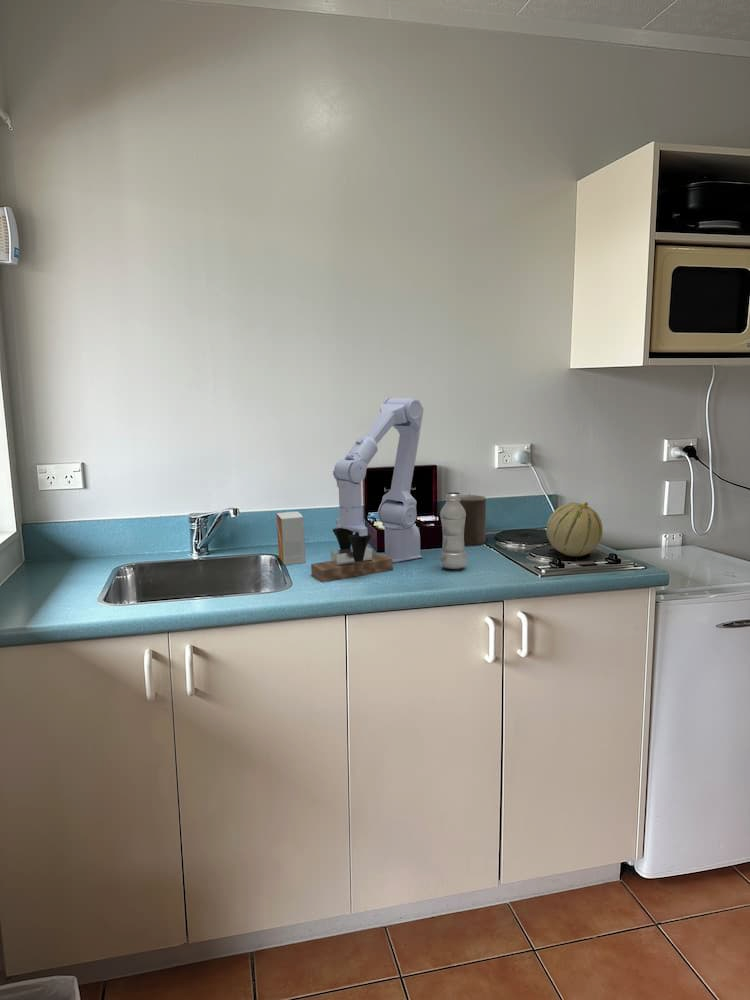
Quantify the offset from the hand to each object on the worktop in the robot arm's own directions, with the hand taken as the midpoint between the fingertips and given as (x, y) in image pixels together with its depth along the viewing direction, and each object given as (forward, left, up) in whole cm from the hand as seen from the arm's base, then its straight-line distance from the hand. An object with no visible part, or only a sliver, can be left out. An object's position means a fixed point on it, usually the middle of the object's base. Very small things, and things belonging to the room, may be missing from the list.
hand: (352, 557), depth 181 cm
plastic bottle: (-24, +11, -4) cm, 27 cm away
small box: (+9, -20, -4) cm, 22 cm away
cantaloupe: (-59, +18, -4) cm, 62 cm away
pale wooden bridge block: (0, 0, -4) cm, 4 cm away
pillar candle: (-44, -10, -4) cm, 45 cm away
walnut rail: (0, 0, -4) cm, 4 cm away
